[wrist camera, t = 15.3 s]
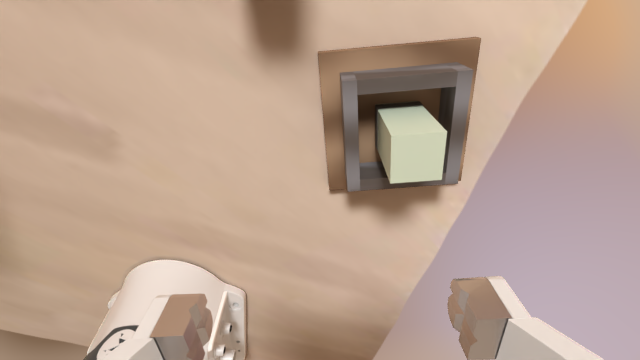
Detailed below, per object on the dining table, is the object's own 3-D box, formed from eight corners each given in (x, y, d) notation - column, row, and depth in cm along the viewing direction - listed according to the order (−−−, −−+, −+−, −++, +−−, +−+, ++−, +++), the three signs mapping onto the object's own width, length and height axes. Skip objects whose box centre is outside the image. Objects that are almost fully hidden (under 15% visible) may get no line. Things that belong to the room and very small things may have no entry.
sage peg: (418, 100, 30) (448, 130, 23) (416, 141, 32) (442, 180, 25) (374, 103, 31) (390, 135, 24) (374, 144, 33) (389, 184, 26)
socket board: (457, 176, 35) (474, 198, 32) (329, 185, 36) (330, 208, 32) (476, 37, 29) (500, 43, 25) (317, 51, 29) (317, 59, 25)
